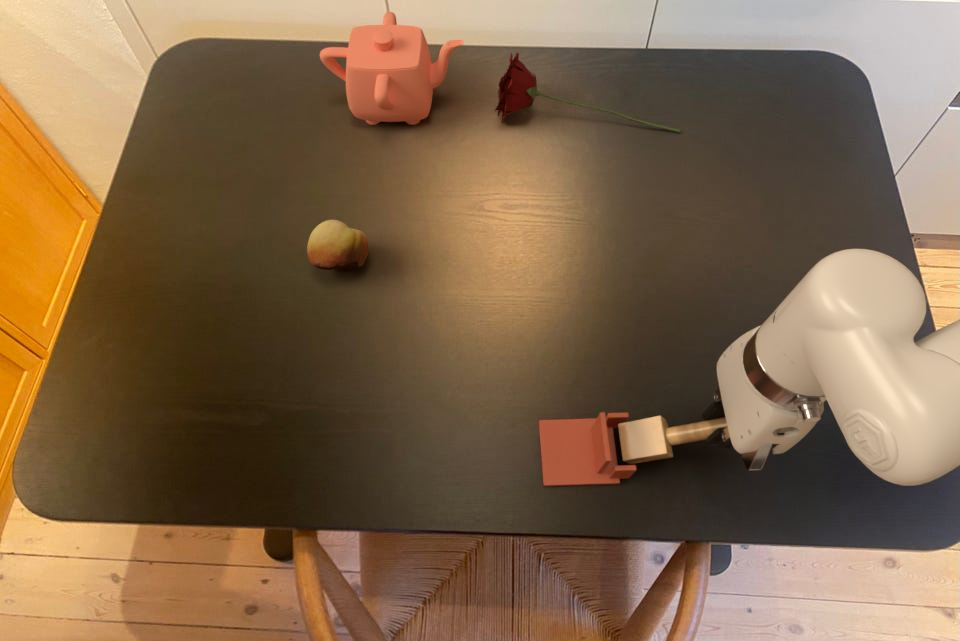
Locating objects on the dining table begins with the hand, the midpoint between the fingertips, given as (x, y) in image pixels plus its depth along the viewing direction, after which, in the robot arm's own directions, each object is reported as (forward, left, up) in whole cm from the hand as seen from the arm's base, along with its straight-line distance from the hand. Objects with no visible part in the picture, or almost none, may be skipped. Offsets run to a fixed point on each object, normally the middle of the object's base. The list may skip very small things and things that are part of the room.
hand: (718, 429), depth 66 cm
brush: (0, +2, -3) cm, 3 cm away
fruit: (+28, +45, -8) cm, 54 cm away
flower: (+54, +7, -8) cm, 55 cm away
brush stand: (0, +14, -8) cm, 16 cm away
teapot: (+59, +38, -8) cm, 71 cm away
